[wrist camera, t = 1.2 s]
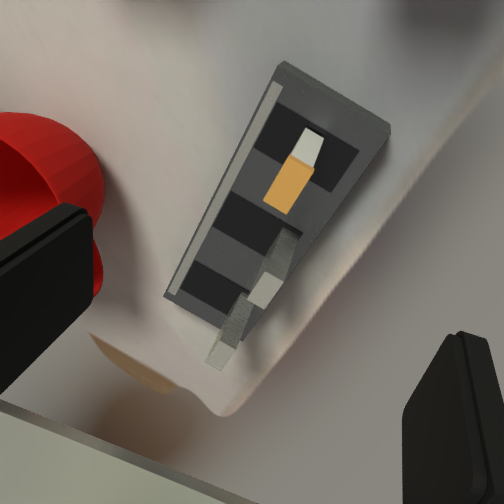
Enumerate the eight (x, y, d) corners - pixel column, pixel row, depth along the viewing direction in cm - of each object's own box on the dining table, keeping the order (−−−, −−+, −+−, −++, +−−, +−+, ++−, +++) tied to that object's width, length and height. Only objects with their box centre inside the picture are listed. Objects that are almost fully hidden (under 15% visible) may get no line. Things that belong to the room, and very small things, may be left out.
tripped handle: (303, 174, 33) (286, 214, 27) (283, 162, 33) (262, 200, 27) (326, 137, 31) (313, 172, 25) (305, 125, 31) (287, 157, 25)
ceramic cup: (87, 273, 47) (25, 334, 39) (-19, 131, 42) (-119, 167, 33) (181, 236, 42) (131, 297, 34) (74, 65, 36) (-19, 88, 28)
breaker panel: (248, 325, 45) (221, 394, 38) (173, 282, 45) (130, 343, 37) (390, 123, 32) (393, 167, 24) (284, 60, 32) (253, 83, 24)
